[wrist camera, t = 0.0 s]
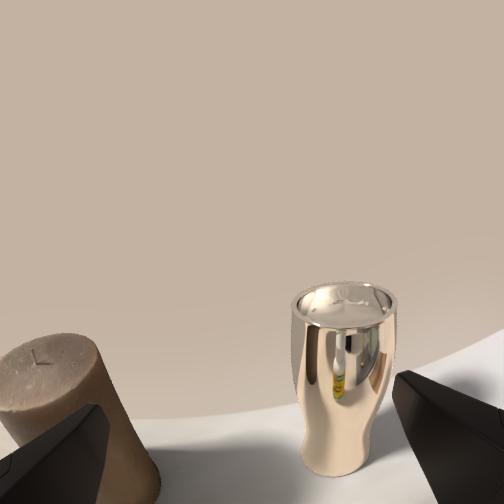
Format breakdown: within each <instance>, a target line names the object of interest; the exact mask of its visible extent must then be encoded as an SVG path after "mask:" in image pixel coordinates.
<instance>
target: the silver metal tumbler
mask: <svg viewBox="0 0 504 504" xmlns="http://www.w3.org/2000/svg"><path fill="white" fill-rule="evenodd" d="M291 309H292V326H291V363H292V373H293V381H294V384H295V390H296V394H297V398H298V401H299V405H300V408H301V412H302V415H303V418H304V422H305V428H306V432H305V437H304V440H303V443H302V447H301V457H302V460H303V462H304V464H305V465H306V466H307V467H308V468H309V469H310V470H311V471H313V472H315V473H317V474H319V475H323V476H328V477H338V476H344V475H347V474H350V473H352V472H354V471H356V470H357V469H359V468H360V467H361V466H362V465H363V464H364V463H365V461H366V460H367V458H368V455H369V451H370V439H369V433H370V428H371V425H372V423H373V421H374V418H375V416H376V414H377V412H378V410H379V408H380V405H381V403H382V401H383V399H384V396H385V394H386V391H387V388H388V385H389V382H390V379H391V375H392V370H393V365H394V359H395V350H396V334H397V299H396V297H395V296H394V294H392V293H391V292H390V291H389V290H387V289H385V288H383V287H381V286H378V285H374V284H370V283H364V282H353V281H344V282H332V283H326V284H321V285H317V286H314V287H311V288H309V289H306V290H304V291H303V292H301V293H299V294H298V295H297V296H296V297H295V298H294V299H293V301H292V304H291Z"/></svg>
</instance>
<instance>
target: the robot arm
mask: <svg viewBox="0 0 504 504" xmlns="http://www.w3.org/2000/svg"><path fill="white" fill-rule="evenodd" d="M392 398H393V402H394V404H395V407H396V410H397V412H398V415H399V418H400V421H401V423H402V426H403V429H404V432H405V434H406V437H407V439H408V441H409V444H410V446H411V448H412V450H413V452H414V454H415V456H416V458H417V460H418V462H419V464H420V466H421V468H422V470H423V472H424V474H425V476H426V478H427V480H428V483H429V485H430V487H431V489H432V491H433V493H434V495H435V498H436V500H437V502H438V504H504V410H502V409H500V408H499V409H498V408H497V407H494V406H492V405H489V404H487V403H485V402H482V401H480V400H477V399H475V398H472V397H470V396H468V395H465V394H463V393H460V392H458V391H456V390H453V389H451V388H449V387H446V386H444V385H442V384H440V383H437V382H435V381H433V380H430V379H428V378H426V377H424V376H421V375H419V374H417V373H415V372H412V371H410V370H407V371H404V372H400V373H398V374H397V375H396V377H395V381H394V386H393V391H392ZM109 434H110V422H109V420H108V418H107V416H106V414H105V412H104V410H103V408H102V406H101V405H100V404H97V403H87V404H85V405H84V406H82V407H81V408H79V409H78V410H76V411H75V412H73V413H72V414H70V415H69V416H68V417H66V418H65V419H63V420H62V421H60V422H59V423H57V424H56V425H54V426H52V427H51V428H49V429H48V430H46V431H45V432H43V433H42V434H40V435H39V436H37V437H36V438H34V439H33V440H31V441H30V442H28V443H26V444H25V445H23V446H22V447H20V448H19V449H17V450H16V451H14V452H13V453H11V454H9V455H8V456H6V457H4V458H3V459H1V460H0V504H96V500H97V496H98V492H99V487H100V483H101V479H102V475H103V471H104V467H105V461H106V454H107V447H108V441H109Z"/></svg>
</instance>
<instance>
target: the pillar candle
mask: <svg viewBox="0 0 504 504" xmlns="http://www.w3.org/2000/svg"><path fill="white" fill-rule="evenodd" d="M87 403H97V404H100V405H101V406H102V408H103V410H104V412H105V414H106V416H107V418H108V420H109V422H110V434H109V441H108V447H107V454H106V461H105V467H104V471H103V475H102V479H101V483H100V487H99V492H98V496H97V500H96V504H153V503H154V501H155V500H156V498H157V497H158V494H159V492H160V486H161V478H160V476H159V475H160V474H159V471H158V469H157V467H156V465H155V464H154V462H153V461H152V460H151V458H150V457H149V454H148V452H147V451H146V450H145V448H144V446H143V444H142V443H141V441H140V439H139V437H138V435H137V433H136V431H135V430H134V428H133V426H132V424H131V422H130V420H129V417H128V415H127V413H126V411H125V409H124V407H123V405H122V403H121V402H120V399H119V397H118V395H117V393H116V390H115V388H114V386H113V384H112V381H111V379H110V377H109V374H108V372H107V369H106V367H105V365H104V363H103V360H102V357H101V355H100V353H99V350H98V348H97V346H96V345H95V343H94V342H93V341H92V340H90V339H89V338H87V337H86V336H82V335H78V334H74V333H61V334H53V335H48V336H44V337H40V338H36V339H34V340H31V341H29V342H27V343H24V344H22V345H20V346H18V347H16V348H14V349H12V350H11V351H10V352H8V353H7V354H5V355H4V356H2V357H0V421H1V422H2V424H3V425H4V427H5V428H6V430H7V431H8V432H9V434H10V435H11V437H12V438H13V439H14V441H15V442H16V443H17V445H18V446H19V447H22V446H23V445H25V444H26V443H28V442H30V441H31V440H33V439H34V438H36V437H37V436H39V435H40V434H42V433H43V432H45V431H46V430H48V429H49V428H51V427H52V426H54V425H56V424H57V423H59V422H60V421H62V420H63V419H65V418H66V417H68V416H69V415H70V414H72V413H73V412H75V411H76V410H78V409H79V408H81V407H82V406H84V405H85V404H87Z"/></svg>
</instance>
